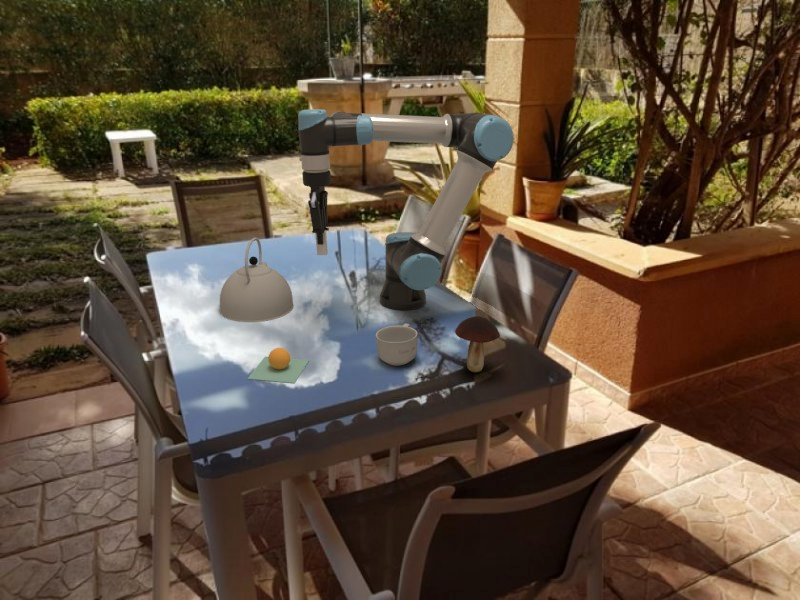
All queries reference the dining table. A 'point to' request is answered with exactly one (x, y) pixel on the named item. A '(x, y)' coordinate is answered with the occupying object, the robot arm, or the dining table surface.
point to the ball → (279, 358)
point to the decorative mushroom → (476, 339)
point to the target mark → (278, 371)
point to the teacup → (397, 344)
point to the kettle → (255, 292)
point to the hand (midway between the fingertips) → (322, 254)
